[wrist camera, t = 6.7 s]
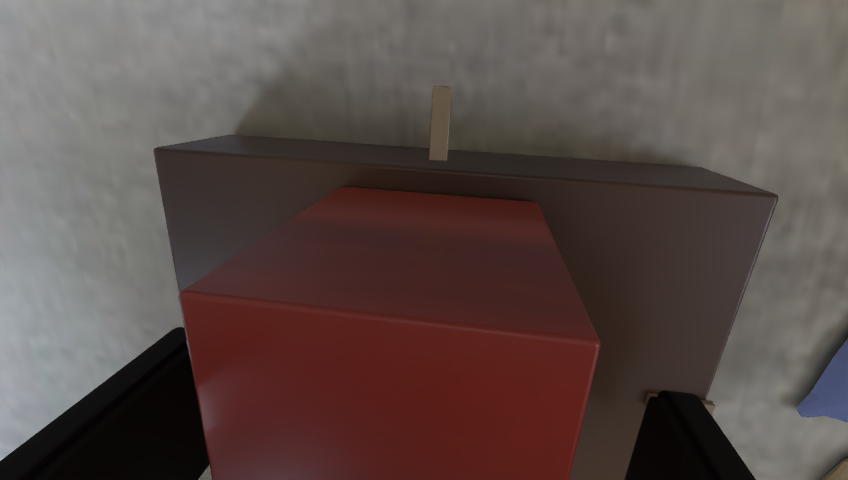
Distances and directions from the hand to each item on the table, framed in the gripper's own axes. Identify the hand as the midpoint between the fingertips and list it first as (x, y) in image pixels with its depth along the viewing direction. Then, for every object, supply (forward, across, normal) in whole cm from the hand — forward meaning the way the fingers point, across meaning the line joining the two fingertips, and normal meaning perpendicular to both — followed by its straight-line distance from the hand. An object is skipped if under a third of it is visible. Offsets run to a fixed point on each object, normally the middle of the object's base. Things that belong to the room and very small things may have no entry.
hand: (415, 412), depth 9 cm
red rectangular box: (+1, 0, 0) cm, 1 cm away
